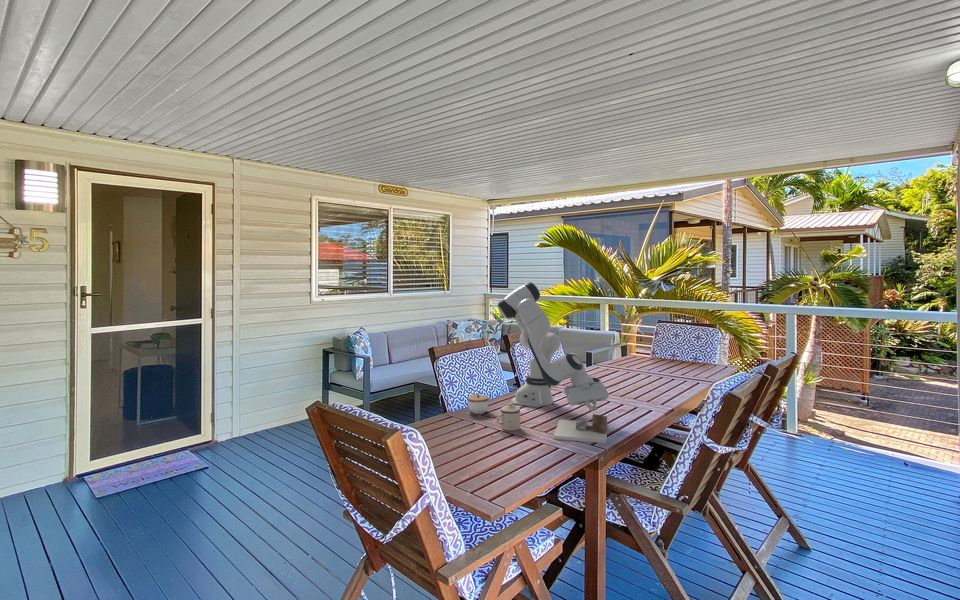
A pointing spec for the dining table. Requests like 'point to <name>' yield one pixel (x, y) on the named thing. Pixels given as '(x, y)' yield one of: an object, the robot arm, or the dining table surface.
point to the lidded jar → (478, 403)
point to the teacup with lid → (509, 417)
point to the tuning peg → (594, 424)
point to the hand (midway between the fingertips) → (594, 410)
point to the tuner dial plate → (577, 433)
